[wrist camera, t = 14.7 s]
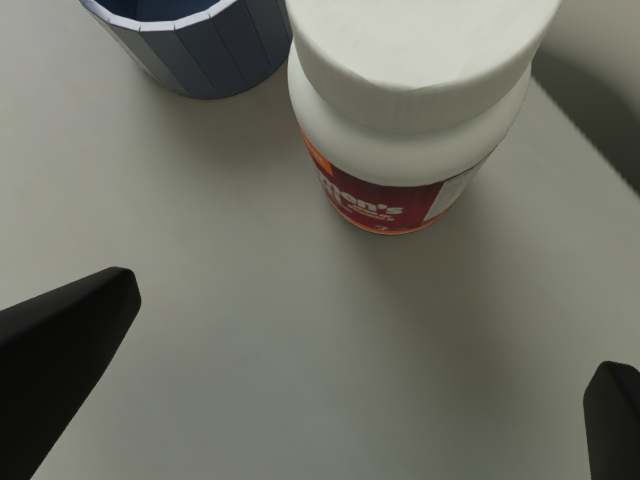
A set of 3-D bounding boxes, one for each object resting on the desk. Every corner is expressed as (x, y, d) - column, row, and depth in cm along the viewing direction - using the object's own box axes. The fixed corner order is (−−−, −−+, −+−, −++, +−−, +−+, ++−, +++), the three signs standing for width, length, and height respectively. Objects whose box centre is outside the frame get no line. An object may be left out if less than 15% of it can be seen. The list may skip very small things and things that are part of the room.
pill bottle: (294, 186, 19) (185, 11, 8) (374, 78, 20) (375, -230, 8) (410, 266, 18) (470, 190, 7) (493, 149, 18) (676, -100, 7)
